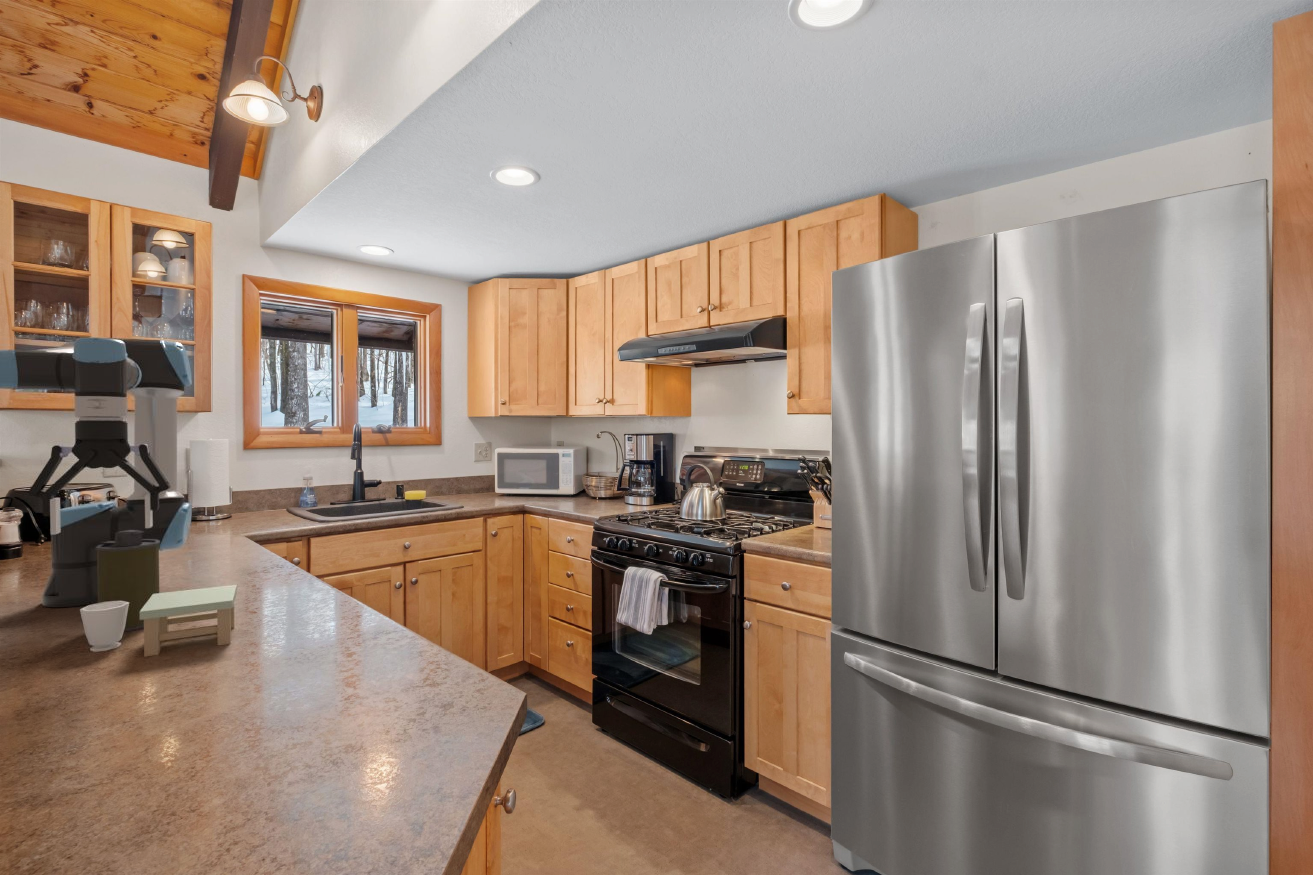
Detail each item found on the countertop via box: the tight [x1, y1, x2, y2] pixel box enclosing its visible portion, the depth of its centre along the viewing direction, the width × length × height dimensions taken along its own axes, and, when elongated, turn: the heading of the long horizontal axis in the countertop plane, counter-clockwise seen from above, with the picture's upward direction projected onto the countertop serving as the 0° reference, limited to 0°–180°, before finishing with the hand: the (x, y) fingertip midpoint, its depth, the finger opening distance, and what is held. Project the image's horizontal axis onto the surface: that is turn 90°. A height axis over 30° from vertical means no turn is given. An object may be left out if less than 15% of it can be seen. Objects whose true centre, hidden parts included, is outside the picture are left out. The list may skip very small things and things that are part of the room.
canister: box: [95, 530, 160, 633], centre depth 132 cm, size 11×10×20 cm
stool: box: [140, 584, 238, 658], centre depth 123 cm, size 14×14×8 cm
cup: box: [79, 601, 129, 653], centre depth 120 cm, size 7×10×8 cm
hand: (103, 530), depth 119 cm, fingers open, 13 cm apart
